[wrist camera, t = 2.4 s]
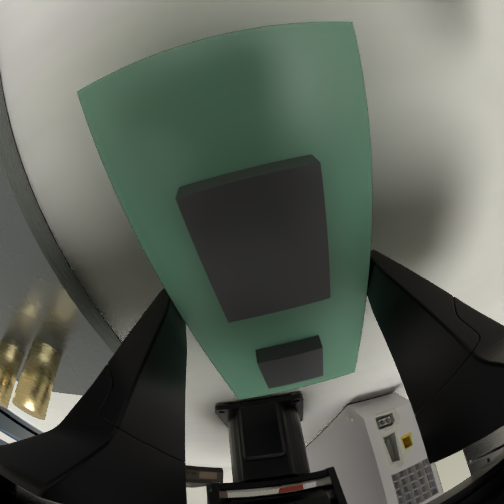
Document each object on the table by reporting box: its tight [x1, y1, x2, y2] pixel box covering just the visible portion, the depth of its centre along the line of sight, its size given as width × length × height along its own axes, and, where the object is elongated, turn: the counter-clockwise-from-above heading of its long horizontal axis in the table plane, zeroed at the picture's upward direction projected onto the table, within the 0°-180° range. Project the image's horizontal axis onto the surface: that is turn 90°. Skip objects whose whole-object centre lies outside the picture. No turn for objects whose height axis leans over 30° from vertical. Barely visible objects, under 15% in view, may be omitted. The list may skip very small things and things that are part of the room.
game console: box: [303, 392, 444, 504], centre depth 20 cm, size 6×27×20 cm, turn 177°
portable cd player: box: [185, 466, 223, 488], centre depth 38 cm, size 16×17×4 cm
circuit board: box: [77, 22, 372, 400], centre depth 9 cm, size 14×6×3 cm, turn 13°
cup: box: [186, 486, 207, 504], centre depth 51 cm, size 12×12×12 cm
